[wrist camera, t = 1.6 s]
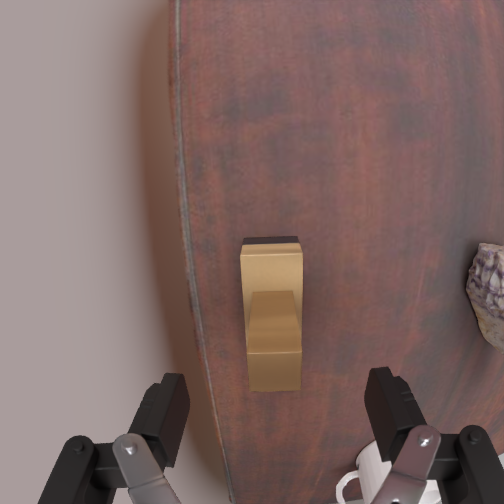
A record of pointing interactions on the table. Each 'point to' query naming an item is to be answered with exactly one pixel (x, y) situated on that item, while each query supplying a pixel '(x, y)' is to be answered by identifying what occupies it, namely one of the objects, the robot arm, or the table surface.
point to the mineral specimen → (488, 292)
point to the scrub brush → (273, 312)
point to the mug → (378, 477)
